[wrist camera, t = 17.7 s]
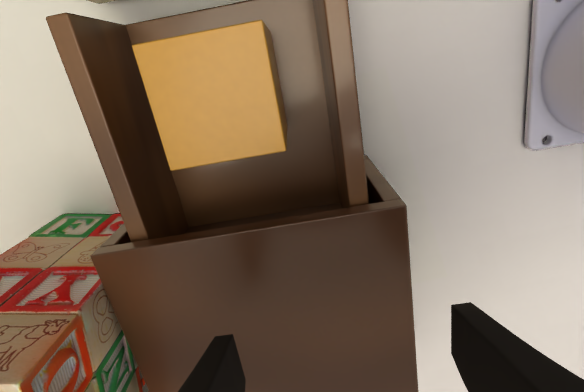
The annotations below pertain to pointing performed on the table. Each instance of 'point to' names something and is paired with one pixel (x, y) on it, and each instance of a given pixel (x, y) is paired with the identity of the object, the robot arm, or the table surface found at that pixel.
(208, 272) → the cabinet
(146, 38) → the drawer
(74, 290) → the stack of blocks
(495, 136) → the table surface
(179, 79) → the block
